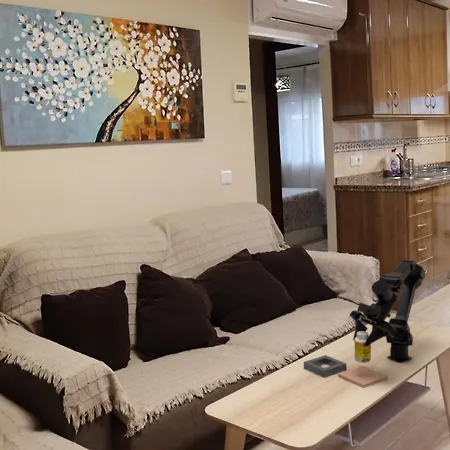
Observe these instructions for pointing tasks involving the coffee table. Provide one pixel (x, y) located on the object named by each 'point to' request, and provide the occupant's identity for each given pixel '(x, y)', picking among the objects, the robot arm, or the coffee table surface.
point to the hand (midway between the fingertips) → (359, 343)
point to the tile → (363, 376)
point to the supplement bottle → (362, 348)
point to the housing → (333, 368)
